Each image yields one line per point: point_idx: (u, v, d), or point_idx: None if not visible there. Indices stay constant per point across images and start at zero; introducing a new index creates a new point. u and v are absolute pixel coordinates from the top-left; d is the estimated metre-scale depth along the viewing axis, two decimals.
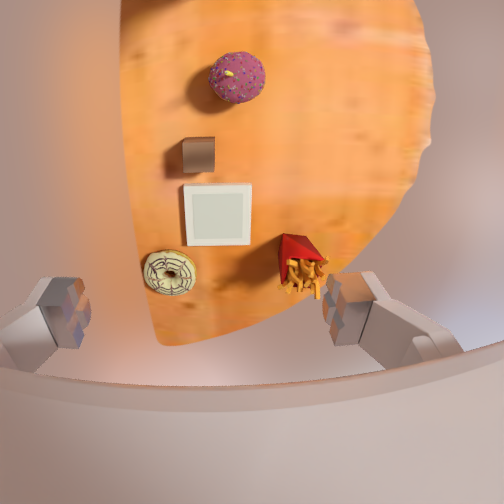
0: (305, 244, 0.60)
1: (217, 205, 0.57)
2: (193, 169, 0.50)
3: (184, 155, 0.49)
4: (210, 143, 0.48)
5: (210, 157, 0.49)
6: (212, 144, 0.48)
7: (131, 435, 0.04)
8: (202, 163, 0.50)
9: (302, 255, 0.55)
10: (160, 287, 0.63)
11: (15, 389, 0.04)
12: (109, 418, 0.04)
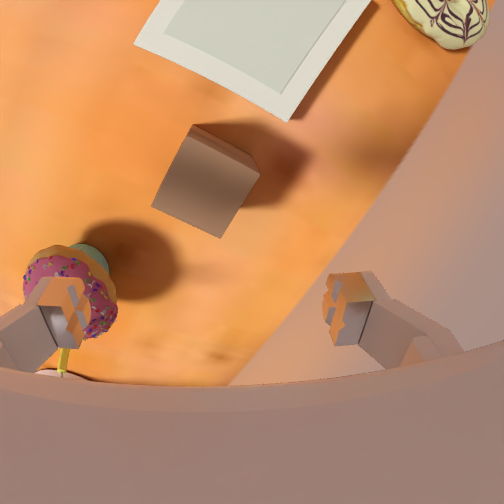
0: None
1: (242, 34, 0.17)
2: (233, 167, 0.19)
3: (232, 210, 0.20)
4: (160, 207, 0.19)
5: (176, 175, 0.19)
6: (156, 202, 0.19)
7: (131, 435, 0.04)
8: (204, 171, 0.19)
9: None
10: None
11: (16, 389, 0.04)
12: (109, 418, 0.04)
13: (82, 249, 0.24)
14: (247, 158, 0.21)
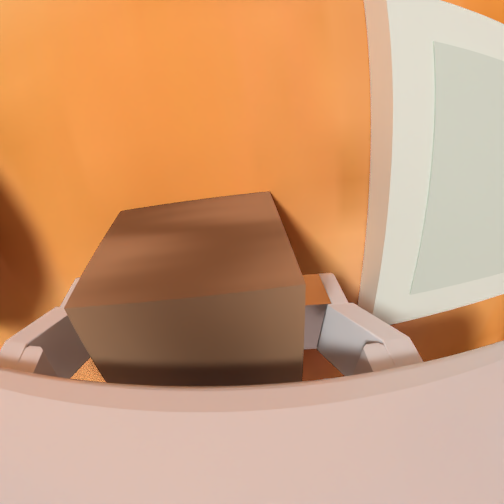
0: None
1: (476, 183, 0.09)
2: None
3: None
4: (81, 327, 0.06)
5: (182, 321, 0.06)
6: (82, 316, 0.06)
7: (131, 435, 0.04)
8: (239, 359, 0.07)
9: None
10: None
11: (15, 390, 0.04)
12: (109, 418, 0.04)
13: None
14: None
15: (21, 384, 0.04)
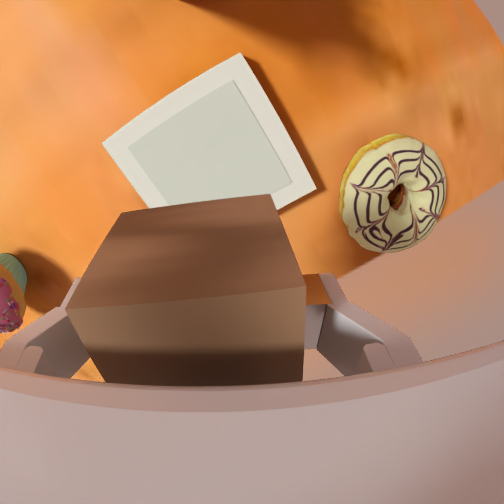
0: None
1: (186, 179, 0.23)
2: None
3: None
4: (82, 328, 0.06)
5: (182, 322, 0.06)
6: (83, 317, 0.06)
7: (131, 435, 0.04)
8: (240, 361, 0.07)
9: None
10: (431, 211, 0.25)
11: (15, 389, 0.04)
12: (109, 418, 0.04)
13: (12, 265, 0.25)
14: None
15: (21, 384, 0.04)
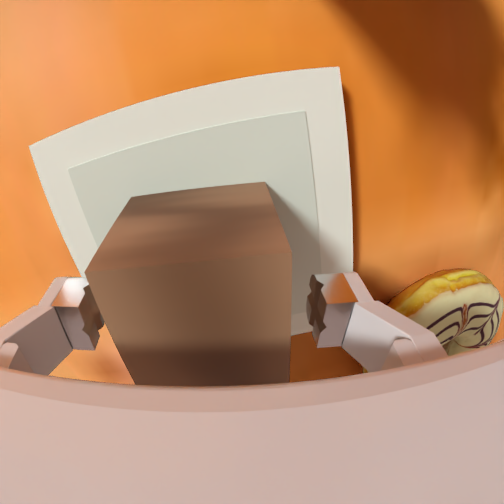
0: None
1: None
2: (274, 353, 0.09)
3: None
4: (98, 290, 0.07)
5: (187, 283, 0.07)
6: (100, 279, 0.07)
7: (131, 435, 0.04)
8: (235, 321, 0.08)
9: None
10: None
11: (16, 389, 0.04)
12: (109, 418, 0.04)
13: None
14: None
15: (21, 384, 0.04)
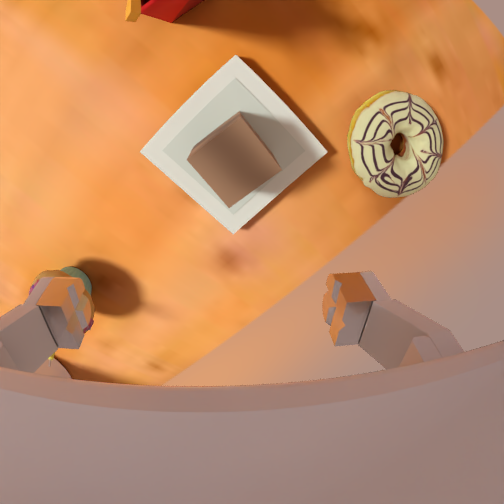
0: None
1: None
2: (264, 156, 0.23)
3: (248, 189, 0.24)
4: (193, 163, 0.23)
5: (218, 144, 0.22)
6: (192, 159, 0.22)
7: (131, 435, 0.04)
8: (241, 149, 0.22)
9: None
10: (431, 151, 0.26)
11: (15, 389, 0.04)
12: (109, 418, 0.04)
13: (76, 274, 0.33)
14: (272, 155, 0.26)
15: (21, 384, 0.04)
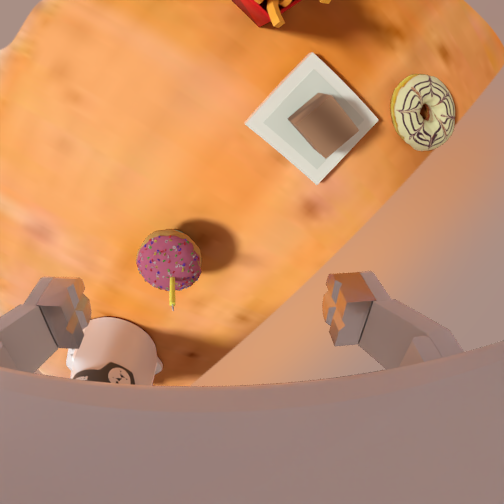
0: (239, 1, 0.25)
1: None
2: (347, 121, 0.31)
3: (338, 145, 0.32)
4: (301, 127, 0.31)
5: (318, 113, 0.30)
6: (300, 124, 0.31)
7: (131, 435, 0.04)
8: (332, 117, 0.31)
9: (251, 4, 0.22)
10: (448, 115, 0.34)
11: (15, 389, 0.04)
12: (109, 418, 0.04)
13: None
14: None
15: (21, 384, 0.04)
